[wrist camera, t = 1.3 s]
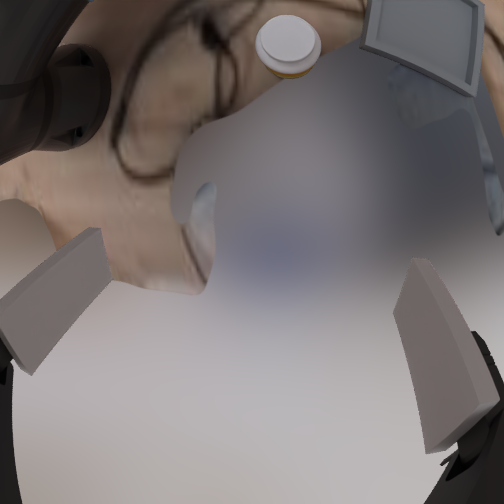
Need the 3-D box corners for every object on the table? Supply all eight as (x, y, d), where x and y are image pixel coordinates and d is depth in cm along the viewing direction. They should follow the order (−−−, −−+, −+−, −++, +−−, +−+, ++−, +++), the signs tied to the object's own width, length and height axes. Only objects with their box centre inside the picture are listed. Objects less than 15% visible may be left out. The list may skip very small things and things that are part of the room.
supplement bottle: (321, 72, 24) (335, 61, 16) (272, 84, 26) (263, 78, 17) (305, 28, 22) (311, 0, 13) (256, 41, 23) (240, 17, 15)
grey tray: (359, 48, 22) (364, 44, 20) (373, -43, 14) (378, -51, 12) (464, 96, 22) (475, 97, 20) (474, 7, 14) (484, 4, 12)
